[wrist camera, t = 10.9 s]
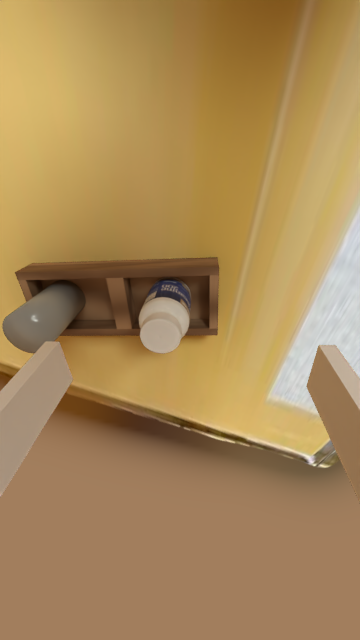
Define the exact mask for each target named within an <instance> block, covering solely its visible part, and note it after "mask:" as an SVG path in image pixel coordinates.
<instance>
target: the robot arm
mask: <svg viewBox="0 0 360 640" xmlns="http://www.w3.org/2000/svg"><path fill="white" fill-rule="evenodd" d="M72 381H73V377H72V375H71V372H70V369H69V367H68V364H67V361H66V358H65V356H64V353H63V350H62V348H61V345H60V342H52V341H46V342H45V343H44V344H43V345H42V346H41V347H40V348H39V349H38V350H37V352H36V353H35V354H34V355H33V356H32V357H31V358H30V359H29V360H28V361H27V363H26V364H25V365H24V366H23V367H22V368H21V369H20V370H19V371H18V372H17V373H16V375H15V376H14V377H13V378H12V379H11V380H10V381H9V383H7V385H6V386H5V387H4V388H3V389H2V390H1V391H0V497H1V495H2V494H3V492H4V490H5V489H6V487H7V485H8V484H9V482H10V481H11V479H12V478H13V476H14V474H15V473H16V471H17V469H18V468H19V466H20V465H21V463H22V461H23V460H24V458H25V457H26V455H27V453H28V452H29V450H30V448H31V447H32V445H33V444H34V442H35V440H36V439H37V437H38V436H39V434H40V432H41V431H42V429H43V427H44V426H45V424H46V423H47V421H48V419H49V418H50V416H51V415H52V413H53V411H54V410H55V408H56V406H57V405H58V403H59V402H60V400H61V398H62V397H63V395H64V394H65V392H66V390H67V389H68V387H69V386H70V384H71V382H72ZM307 388H308V391H309V393H310V395H311V397H312V399H313V402H314V404H315V406H316V408H317V410H318V413H319V415H320V417H321V419H322V421H323V424H324V426H325V428H326V430H327V432H328V434H329V437H330V439H331V441H332V443H333V445H334V448H335V450H336V452H337V454H338V456H339V459H340V461H341V463H342V465H343V467H344V470H345V472H346V474H347V476H348V478H349V480H350V483H351V485H352V487H353V489H354V491H355V494H356V496H357V498H358V500H359V502H360V378H359V377H358V376H357V374H356V373H355V371H354V370H353V369H352V367H351V366H350V364H349V363H348V362H347V360H346V359H345V358H344V356H343V355H342V353H341V352H340V351H339V349H338V348H337V346H336V345H319V346H318V349H317V353H316V356H315V360H314V363H313V366H312V370H311V373H310V376H309V380H308V383H307Z"/></svg>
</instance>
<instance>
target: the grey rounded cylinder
mask: <svg viewBox="0 0 360 640" xmlns="http://www.w3.org/2000/svg"><path fill="white" fill-rule="evenodd" d="M85 303H86V299H85V295H84V293H83V291H82V290H81V289H80V288H79V287H78V286H77V285H76V284H74V283H73V282H70V281H67V280H58V281H55V282H54V283H52V284H51V285H50V286H48V287H47V288H45V289H44V290H43V291H41V292H40V293H38V294H37V295H36V296H34V297H33V298H32V299H30V300H29V301H27V302H26V303H25V304H23V305H22V306H20V307H19V308H18V309H16V310H15V311H14V312H12V313H11V314H9V315H8V316H7V317H6V318H5V319H4V321H3V332H4V334H5V336H6V337H7V339H8V340H9V341H10V342H11V343H12V344H13V345H14V346H16V347H17V348H19V349H20V350H23V351H25V352H29V353H36V352H37V350H38V349H39V348H40V347H41V346H42V345H43V344H44V343H45V342H46V341H52V342H54V341H55V340H56V339H57V338H58V336H59V335H60V334H61V333H62V332H63V331H64V330H65V329H66V327H67V326H68V325H69V324H70V323H71V322H72V321H73V320H74V319H75V317H76V316H77V315H78V314H79V313H80V312H81V311H82V310H83V308H84V307H85Z"/></svg>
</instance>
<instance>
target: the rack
mask: <svg viewBox="0 0 360 640" xmlns="http://www.w3.org/2000/svg"><path fill="white" fill-rule="evenodd" d="M15 274H16V276H17V279H18V281H19V284H20V286H21V289H22V291H23V294H24V296H25V299H26V301H29V300H30V299H32V298H33V297H34V296H36V295H37V294H38V293H40V292H41V291H43V290H44V289H45V288H47V287H48V286H50V285H51V284H52V283H54V282H55V281H58V280H67V281H70V282H73V283H74V284H76V285H77V286H78V287H79V288H80V289H81V290H82V291H83V293H84V295H85V299H86V303H85V307H84V308H83V310H82V311H81V312H80V313H79V314H78V315H77V316H76V317H75V319H74V320H73V321H72V322H71V323H70V324H69V325H68V326H67V327H66V329H65V330H64V331H63V332H62V333H61V334H60V335H59V336H104V335H140V331H141V328H140V326H139V315H140V311H141V309H142V307H143V304H144V302H145V300H146V298H147V295H148V293H149V291H150V289H151V287H152V286H153V284H154V283H155V282H156V281H158V280H159V279H161V278H165V277H174V278H177V279H180V280H181V281H183V282H184V283H185V284H186V285H187V286H188V288H189V290H190V293H191V306H190V321H189V327H188V330H187V332H186V334H185V335H217V331H218V285H219V264H218V258H186V259H155V260H124V261H92V262H61V263H32V264H30V265H28V266H26V267H24V268H23V269H21V270H19V271H17V272H15Z"/></svg>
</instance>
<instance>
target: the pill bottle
mask: <svg viewBox="0 0 360 640" xmlns="http://www.w3.org/2000/svg"><path fill="white" fill-rule="evenodd" d="M190 306H191V293H190V290H189V288H188V286H187V285H186V284H185V283H184V282H183V281H181V280H180V279H177V278H174V277H165V278H161V279H159V280H158V281H156V282H155V283H154V284H153V286H152V287H151V289H150V291H149V293H148V295H147V298H146V300H145V302H144V304H143V307H142V309H141V311H140V315H139V326H140V328H141V331H140V339H141V341H142V343H143V345H144V346H145V347H146V348H147V349H149V350H150V351H153V352H155V353H168V352H171V351H173V350H174V349H176V348H177V347H178V345H179V343H180V340H181V338H182V337H183V336H184V335H185V334H186V332H187V330H188V327H189V321H190Z"/></svg>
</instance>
